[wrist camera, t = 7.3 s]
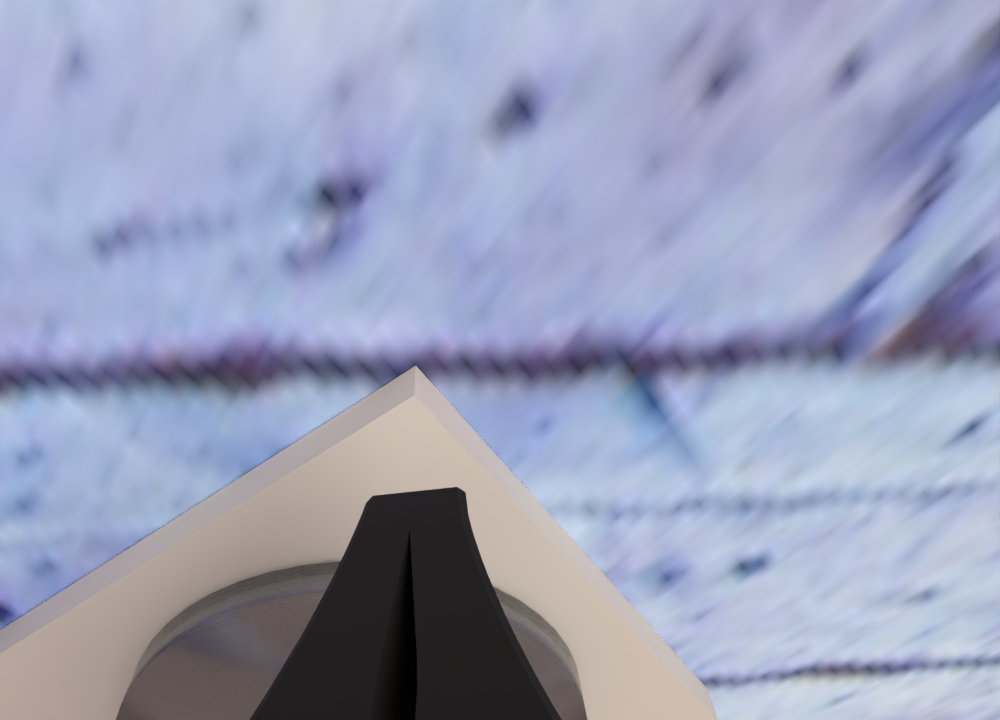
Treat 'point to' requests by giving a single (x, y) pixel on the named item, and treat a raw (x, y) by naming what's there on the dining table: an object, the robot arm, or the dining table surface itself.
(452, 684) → the robot arm
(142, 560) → the plate
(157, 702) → the rotary indexing table
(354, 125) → the dining table surface
